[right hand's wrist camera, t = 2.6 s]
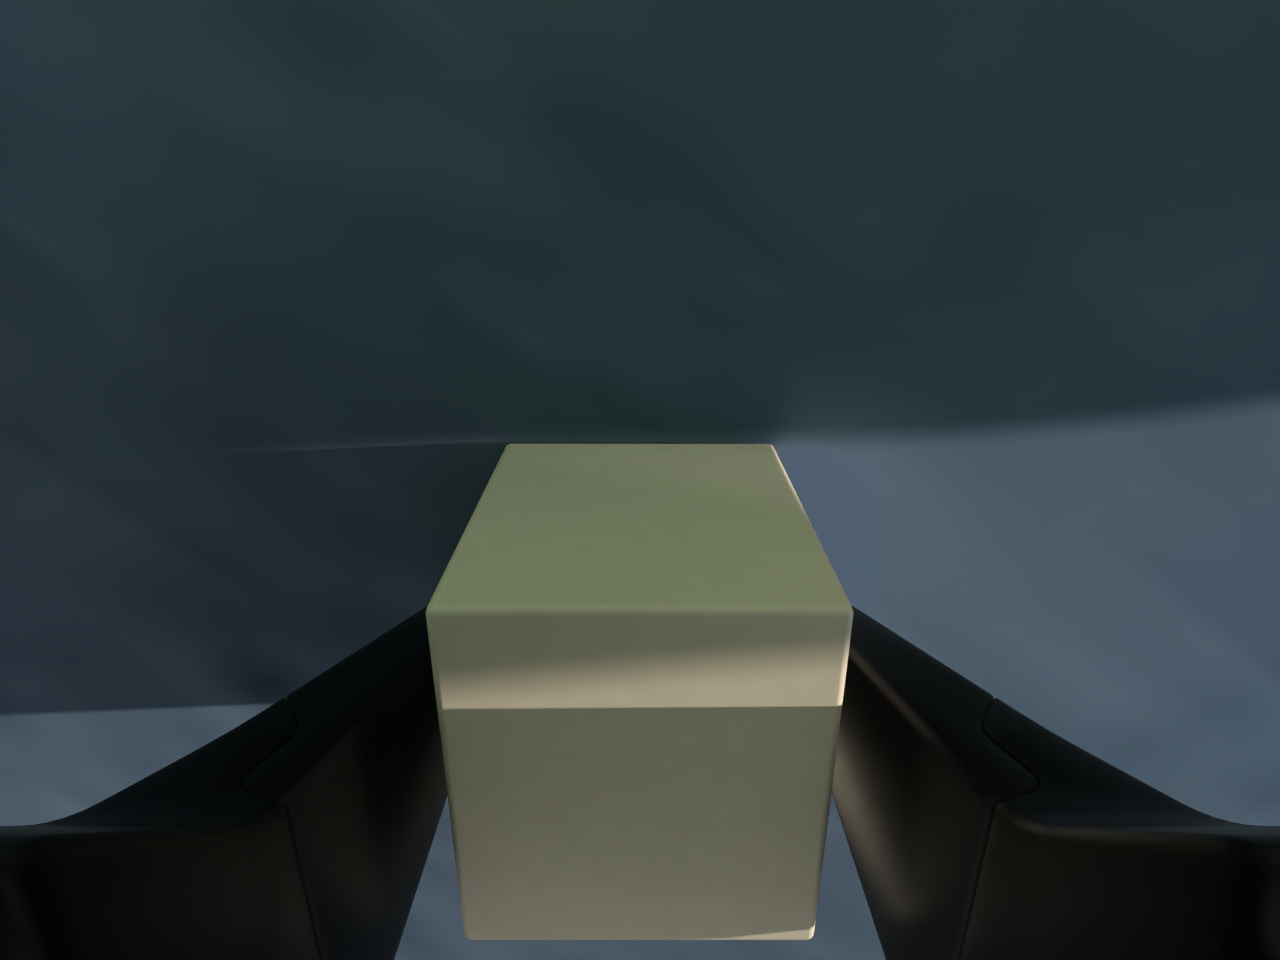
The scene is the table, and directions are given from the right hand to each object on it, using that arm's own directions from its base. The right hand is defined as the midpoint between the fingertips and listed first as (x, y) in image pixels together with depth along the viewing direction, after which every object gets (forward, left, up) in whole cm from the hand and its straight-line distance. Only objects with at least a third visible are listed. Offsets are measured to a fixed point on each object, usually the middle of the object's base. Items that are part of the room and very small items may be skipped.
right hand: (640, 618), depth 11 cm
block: (0, 0, -1) cm, 1 cm away
